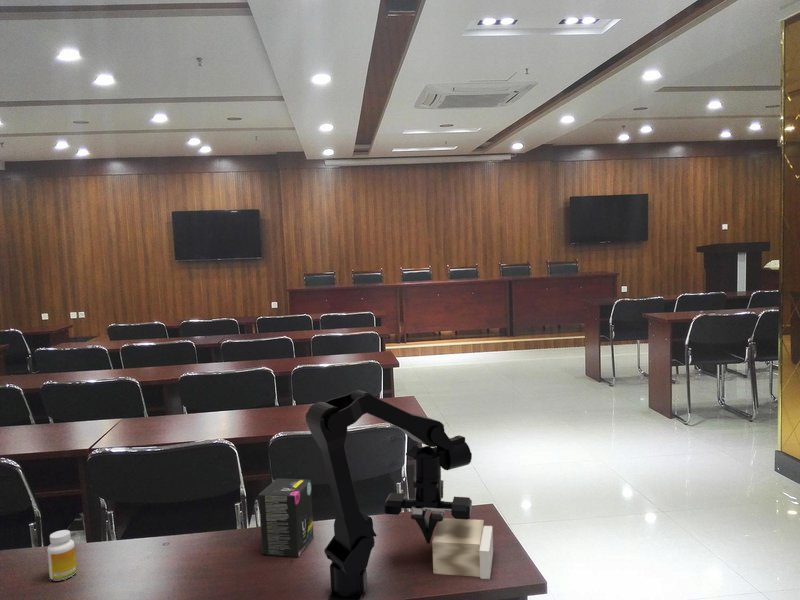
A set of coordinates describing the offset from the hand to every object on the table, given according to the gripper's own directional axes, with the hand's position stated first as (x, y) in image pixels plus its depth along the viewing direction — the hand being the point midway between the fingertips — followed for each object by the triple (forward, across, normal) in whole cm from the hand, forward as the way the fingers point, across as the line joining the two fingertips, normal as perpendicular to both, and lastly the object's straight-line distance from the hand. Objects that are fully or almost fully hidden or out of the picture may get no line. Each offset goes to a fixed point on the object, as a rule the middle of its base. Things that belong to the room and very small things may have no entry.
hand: (428, 543), depth 137 cm
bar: (+4, -13, 0) cm, 13 cm away
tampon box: (+5, +34, -3) cm, 35 cm away
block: (+4, -7, -1) cm, 8 cm away
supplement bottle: (+6, +79, +17) cm, 81 cm away
